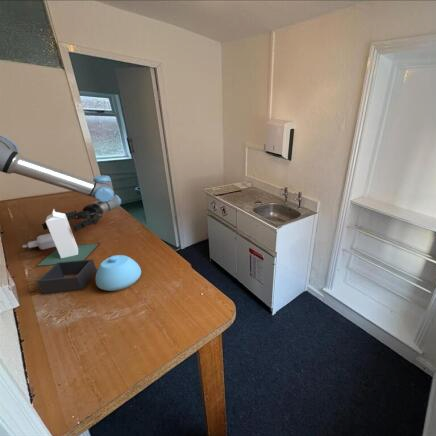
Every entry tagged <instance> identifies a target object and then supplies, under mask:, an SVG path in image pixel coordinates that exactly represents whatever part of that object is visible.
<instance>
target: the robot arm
mask: <svg viewBox="0 0 436 436" xmlns="http://www.w3.org/2000/svg"><path fill="white" fill-rule="evenodd" d="M0 172H1V173H4V174H7V175H10V174H16V175H20V176H23V177H26V178H29V179H33V180H35V181H39V182H43V183H45V184H48V185H52V186H55V187H59V188H62V189H64V190H68V191H71V192H74V193H77V194H80V195H84V196H88V197H91V198H94V199H96V200H95V201H94V202H91V203H89V204H87V205H85V206H83V208H82V210H79V211H77V210H72V211H70V212H66V213H64V214H66V217H67V220H68V222H69V221H73V220H76V221H77V220H81V221H79V222H78V223H76V224H73V225H72V228H73V230H74V232H78V231H80V230H81V229H84V228H85V227H88V226H91V225H97V224H98V223H99V221H100V219H101V218H103V216H104V215H105V214H107V213H109V212H110V211H111V212H112V211H113V210H115V209H116V208H118V207H119V206H120V205H122V199H121V198H120V196H119V195H117V194H115V190H114V187H113V183H112V180H111V176H109V175H103V174H102V175H96V176H94V177H92V180H91V179H88V178H85V177H83V176H80V175H76V174H73V173H71V172H68V171H65V170H62V169H59V168H56V167H53V166H50V165H48V164H45V163H42V162H39V161H36V160H33V159H30V158H28V157H24V156H22V154H21V152H19V149H18V146H17V144H16V143H15V142H14V141H13V140H12V139H10V138H8V137H7V136H4V135H1V134H0ZM41 226H42V228H43V230H45V231H46V230H49V229H48V226H47V224H46V222H43V223H42V224H41Z"/></svg>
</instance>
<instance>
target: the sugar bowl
mask: <svg viewBox="0 0 436 436" xmlns="http://www.w3.org/2000/svg"><path fill="white" fill-rule="evenodd" d="M141 276H142V269H141V267H140V265H139V264H138V262H137V261H136V260H135V259H133V258H131V257H129V256H128V255H125V254H118V255H117V254H116V255H115V254H114V255H111V256H110V257H107V258H106V259H104V260H103V261H101V263H100V264H99V266H98V268H97V271H96V273H95V284H96V286H97V288H99V289H100V290H103V291H107V292H116V291H117V292H118V291H121V290H124V289H127V288H129V287H131V286H132V285H134V284H135V283H136V282H137V281H138V280H139V279H140V277H141Z"/></svg>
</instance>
